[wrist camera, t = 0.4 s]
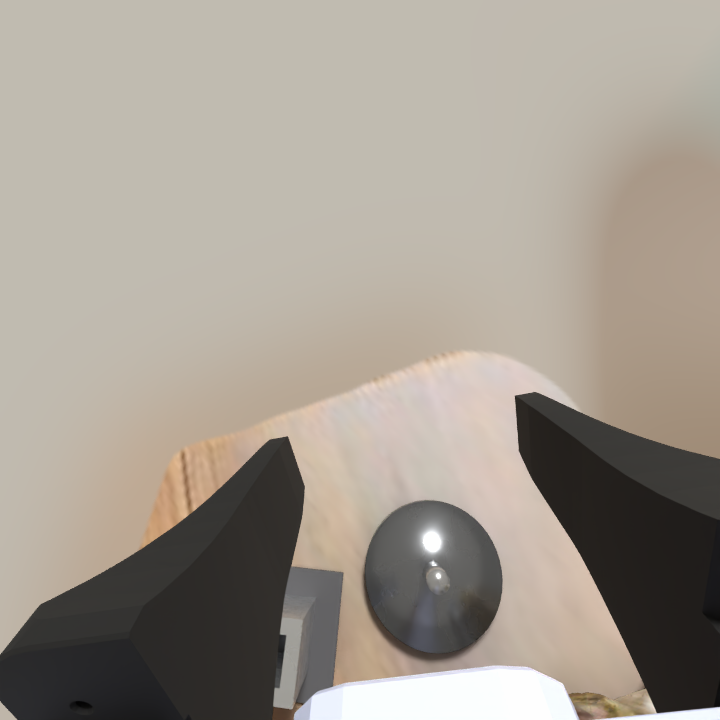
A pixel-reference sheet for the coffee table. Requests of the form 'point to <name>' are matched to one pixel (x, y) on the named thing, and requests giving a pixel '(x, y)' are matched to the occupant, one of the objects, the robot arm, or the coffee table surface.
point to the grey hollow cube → (293, 649)
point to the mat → (318, 625)
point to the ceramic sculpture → (611, 705)
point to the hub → (433, 576)
